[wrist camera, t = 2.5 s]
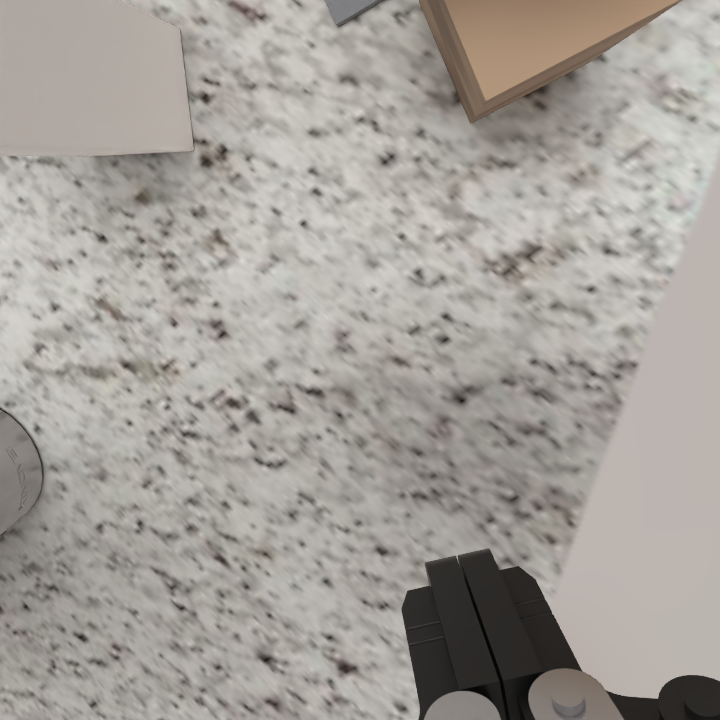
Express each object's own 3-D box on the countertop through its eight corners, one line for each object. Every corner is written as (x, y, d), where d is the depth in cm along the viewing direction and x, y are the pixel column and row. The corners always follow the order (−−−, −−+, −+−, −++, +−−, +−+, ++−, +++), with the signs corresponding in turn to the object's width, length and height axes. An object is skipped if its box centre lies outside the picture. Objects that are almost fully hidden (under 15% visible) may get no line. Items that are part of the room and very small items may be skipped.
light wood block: (586, 63, 30) (694, -8, 17) (470, 123, 32) (485, 101, 19) (539, -64, 29) (616, -249, 16) (419, 5, 30) (398, -111, 17)
